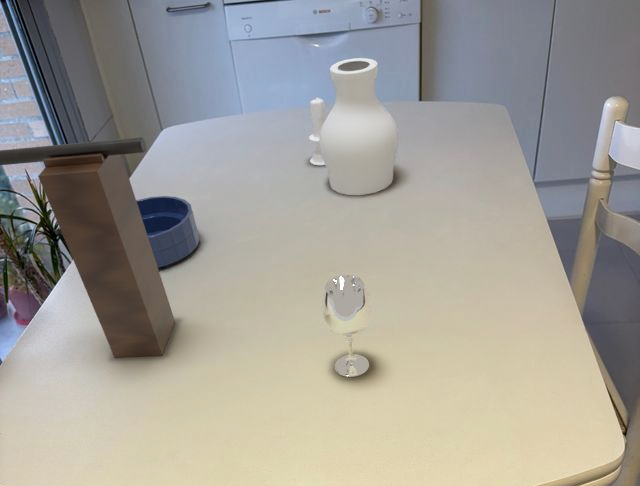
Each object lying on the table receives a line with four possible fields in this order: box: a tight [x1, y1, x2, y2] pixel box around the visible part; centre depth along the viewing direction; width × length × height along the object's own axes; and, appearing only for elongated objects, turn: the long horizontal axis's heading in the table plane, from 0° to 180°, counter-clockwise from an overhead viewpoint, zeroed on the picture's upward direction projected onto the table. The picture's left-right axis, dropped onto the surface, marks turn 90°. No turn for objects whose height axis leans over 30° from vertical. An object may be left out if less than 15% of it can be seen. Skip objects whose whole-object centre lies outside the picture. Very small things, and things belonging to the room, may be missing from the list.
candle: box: [308, 97, 327, 166], centre depth 127 cm, size 5×5×12 cm
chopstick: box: [0, 136, 147, 166], centre depth 75 cm, size 20×2×2 cm, turn 86°
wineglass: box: [321, 274, 372, 378], centre depth 79 cm, size 6×6×12 cm
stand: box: [37, 154, 176, 358], centre depth 84 cm, size 7×8×27 cm
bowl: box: [136, 195, 201, 268], centre depth 110 cm, size 15×15×6 cm
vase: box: [319, 57, 399, 196], centre depth 115 cm, size 14×14×20 cm
